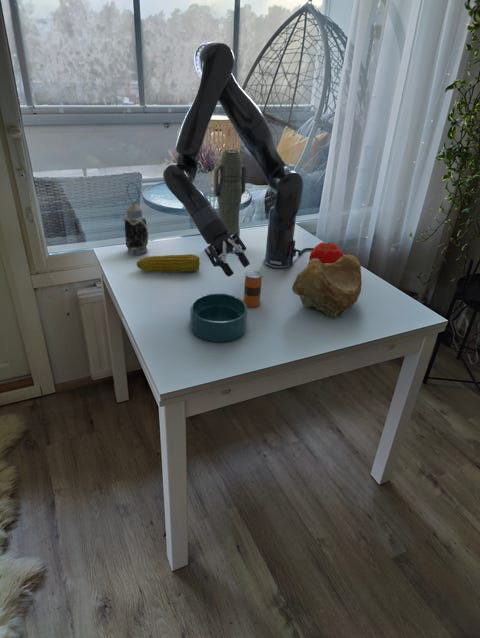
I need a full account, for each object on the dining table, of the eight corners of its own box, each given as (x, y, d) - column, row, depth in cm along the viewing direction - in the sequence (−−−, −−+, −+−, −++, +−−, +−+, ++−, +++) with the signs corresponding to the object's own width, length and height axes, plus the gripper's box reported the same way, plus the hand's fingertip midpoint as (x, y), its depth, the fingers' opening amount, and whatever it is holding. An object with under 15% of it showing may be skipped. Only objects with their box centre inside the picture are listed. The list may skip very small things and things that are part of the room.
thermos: (246, 247, 171) (252, 152, 152) (220, 253, 165) (224, 155, 147) (233, 239, 177) (238, 147, 159) (208, 244, 171) (210, 149, 153)
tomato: (307, 262, 163) (310, 238, 158) (340, 265, 162) (344, 241, 157) (308, 274, 154) (311, 250, 149) (343, 278, 153) (347, 253, 148)
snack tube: (256, 298, 137) (259, 269, 132) (261, 306, 133) (264, 277, 128) (241, 300, 136) (243, 270, 131) (245, 308, 132) (248, 278, 127)
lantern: (121, 250, 162) (115, 181, 149) (139, 245, 167) (135, 178, 154) (135, 258, 157) (130, 187, 144) (154, 252, 162) (150, 183, 149)
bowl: (237, 310, 130) (238, 291, 127) (252, 339, 118) (254, 319, 115) (186, 316, 126) (186, 296, 123) (196, 346, 114) (196, 325, 111)
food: (199, 267, 154) (199, 251, 151) (200, 274, 149) (200, 258, 146) (137, 267, 151) (136, 251, 148) (136, 275, 146) (135, 258, 143)
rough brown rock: (316, 332, 124) (329, 287, 116) (282, 301, 135) (291, 258, 126) (374, 315, 136) (390, 272, 127) (338, 288, 146) (350, 247, 138)
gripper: (201, 224, 123) (233, 273, 124) (231, 211, 133) (260, 257, 134) (187, 237, 128) (217, 284, 129) (216, 224, 139) (244, 268, 139)
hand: (239, 270), depth 132 cm, fingers open, 8 cm apart
